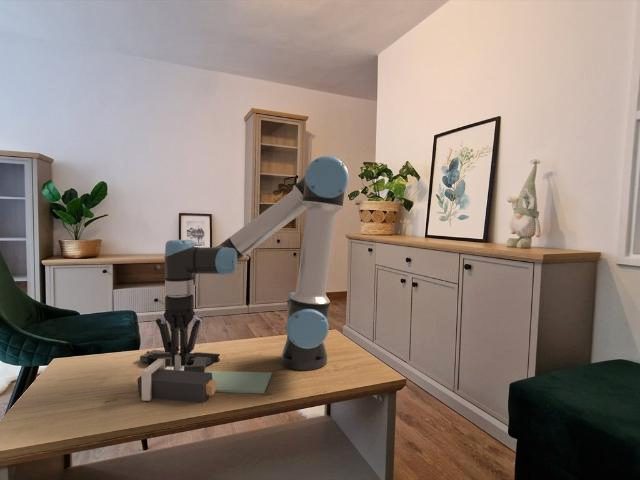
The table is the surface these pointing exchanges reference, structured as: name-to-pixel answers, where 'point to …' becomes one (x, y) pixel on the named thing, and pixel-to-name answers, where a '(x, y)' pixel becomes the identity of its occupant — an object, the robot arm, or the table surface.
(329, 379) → the table surface
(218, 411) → the table surface
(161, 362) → the white arch
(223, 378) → the mat
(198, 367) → the pistol
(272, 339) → the table surface
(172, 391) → the dark grey rectangular bar
